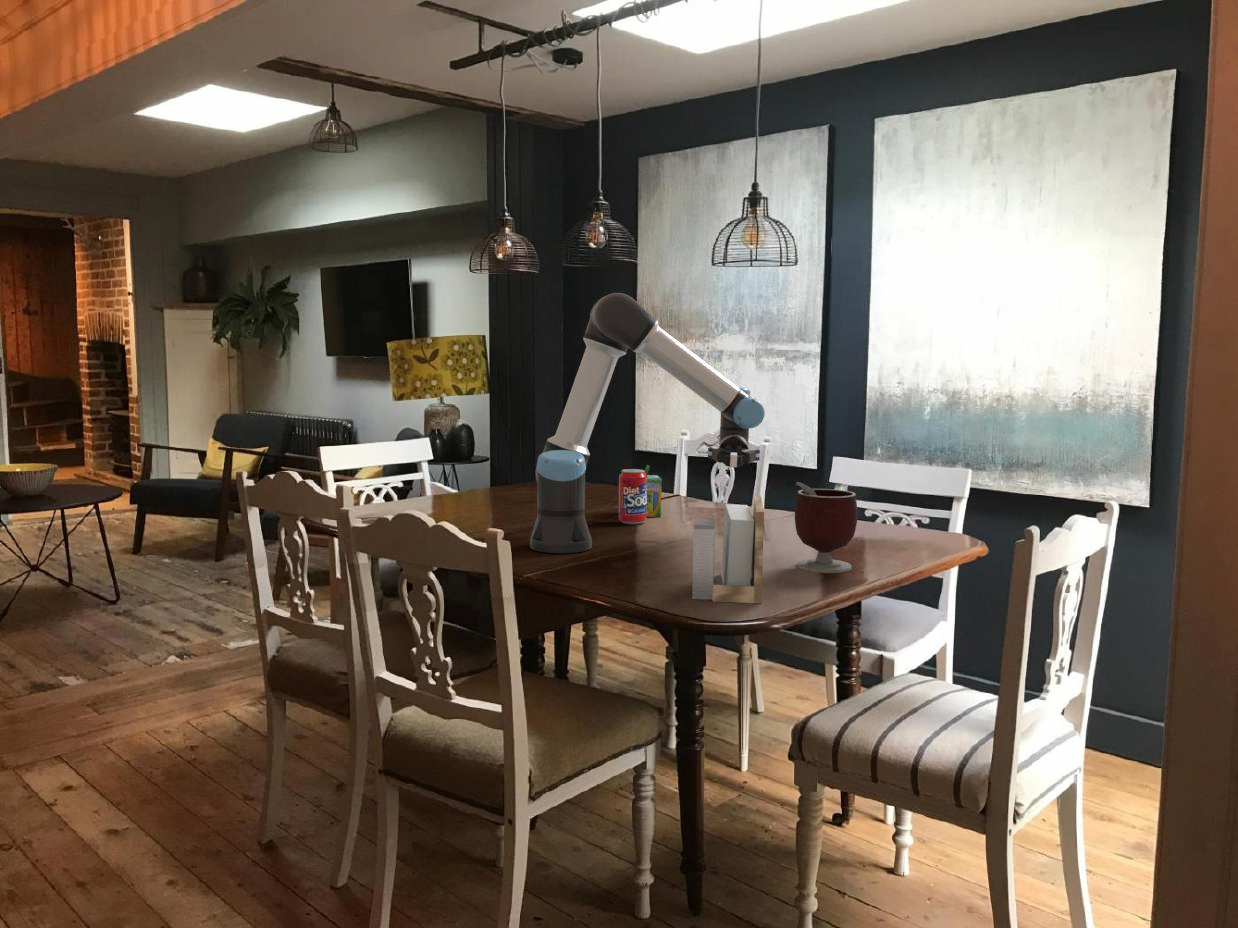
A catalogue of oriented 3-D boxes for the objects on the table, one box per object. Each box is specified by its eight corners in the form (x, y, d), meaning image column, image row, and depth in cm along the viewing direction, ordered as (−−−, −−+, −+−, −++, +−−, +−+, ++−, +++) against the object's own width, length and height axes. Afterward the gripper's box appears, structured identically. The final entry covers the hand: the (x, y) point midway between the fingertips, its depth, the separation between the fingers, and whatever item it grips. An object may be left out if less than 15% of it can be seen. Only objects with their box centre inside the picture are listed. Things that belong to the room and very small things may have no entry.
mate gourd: (827, 558, 237) (830, 474, 235) (868, 570, 225) (871, 482, 222) (775, 564, 230) (777, 478, 227) (813, 576, 217) (817, 485, 215)
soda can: (630, 519, 287) (631, 467, 285) (652, 522, 282) (652, 470, 281) (612, 523, 281) (613, 470, 279) (634, 526, 276) (635, 472, 274)
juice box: (626, 512, 299) (626, 463, 298) (656, 512, 300) (657, 463, 299) (630, 517, 290) (631, 467, 288) (661, 517, 291) (662, 467, 290)
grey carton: (692, 598, 197) (693, 524, 195) (693, 589, 205) (695, 518, 203) (712, 599, 197) (714, 525, 195) (713, 589, 205) (715, 518, 203)
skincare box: (752, 599, 198) (755, 520, 196) (725, 598, 198) (727, 519, 196) (745, 575, 219) (747, 503, 217) (720, 574, 219) (722, 502, 217)
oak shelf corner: (712, 601, 195) (714, 510, 193) (714, 576, 217) (716, 494, 215) (761, 603, 194) (764, 511, 192) (758, 577, 216) (760, 495, 214)
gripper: (759, 466, 251) (761, 478, 227) (707, 464, 252) (704, 476, 229) (760, 437, 250) (763, 445, 227) (708, 435, 251) (705, 443, 228)
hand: (733, 461), depth 228 cm, fingers closed
